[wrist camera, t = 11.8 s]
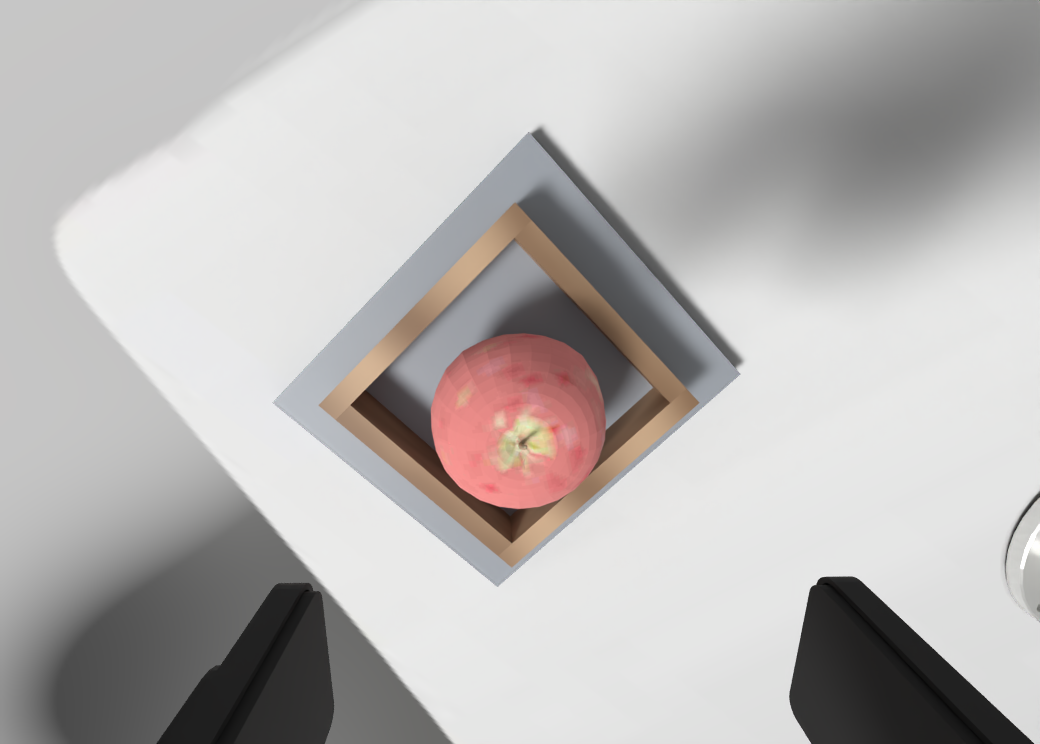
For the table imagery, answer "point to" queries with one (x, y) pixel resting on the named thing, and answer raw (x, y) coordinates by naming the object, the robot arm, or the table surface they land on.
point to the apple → (518, 420)
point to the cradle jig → (499, 311)
